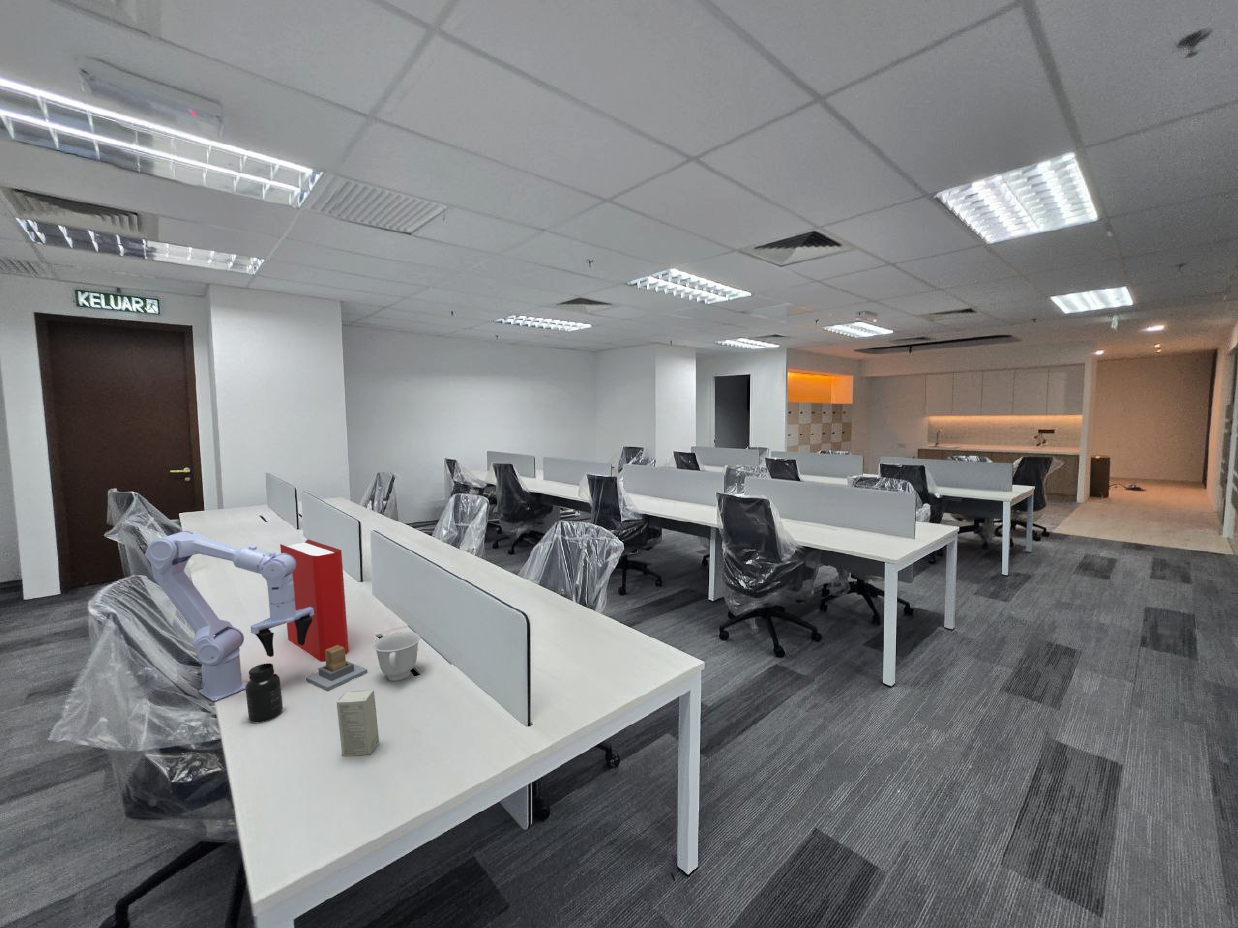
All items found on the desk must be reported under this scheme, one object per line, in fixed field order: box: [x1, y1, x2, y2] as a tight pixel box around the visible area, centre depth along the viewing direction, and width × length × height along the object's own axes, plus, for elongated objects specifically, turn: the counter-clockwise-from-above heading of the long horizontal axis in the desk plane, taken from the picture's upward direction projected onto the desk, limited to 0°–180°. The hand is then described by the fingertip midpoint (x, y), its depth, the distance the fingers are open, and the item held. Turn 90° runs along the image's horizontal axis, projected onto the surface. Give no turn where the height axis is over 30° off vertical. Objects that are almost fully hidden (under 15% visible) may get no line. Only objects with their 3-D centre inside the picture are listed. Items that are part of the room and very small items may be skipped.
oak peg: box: [325, 645, 347, 672], centre depth 138 cm, size 4×4×7 cm
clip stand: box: [305, 660, 368, 692], centre depth 138 cm, size 11×11×3 cm
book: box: [279, 539, 350, 663], centre depth 157 cm, size 27×8×32 cm, turn 52°
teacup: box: [372, 631, 421, 681], centre depth 136 cm, size 12×15×10 cm
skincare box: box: [336, 689, 380, 757], centre depth 106 cm, size 6×4×12 cm
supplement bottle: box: [244, 663, 284, 723], centre depth 120 cm, size 7×7×12 cm
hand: (286, 649), depth 134 cm, fingers open, 7 cm apart
